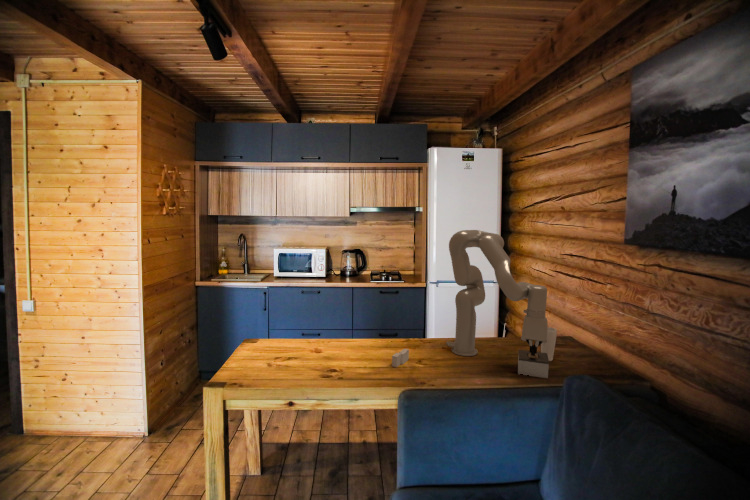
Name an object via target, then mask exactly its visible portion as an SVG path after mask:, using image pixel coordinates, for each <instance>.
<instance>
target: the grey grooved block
mask: <svg viewBox="0 0 750 500" xmlns="http://www.w3.org/2000/svg"><path fill="white" fill-rule="evenodd" d="M409 350H410V349H409V348H403V349H402V350H401V351H399V352H395V353H394V354H393V355H391V367H393V368H398V367H399V366H400V365H404V364H405V363H406V362H408V361H409V357H410V355H409V353H410V351H409Z"/></svg>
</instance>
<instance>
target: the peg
mask: <svg viewBox="0 0 750 500" xmlns="http://www.w3.org/2000/svg"><path fill="white" fill-rule="evenodd" d="M528 357H532V358H538V355H537V354H535V356H534V355H531V354H528Z"/></svg>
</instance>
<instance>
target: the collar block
mask: <svg viewBox="0 0 750 500" xmlns="http://www.w3.org/2000/svg"><path fill="white" fill-rule="evenodd" d="M528 354H531V353H530V352H529V350H524V349H518V357H517V359H518V360H517V375H520V374H523V375H522V376H527V375H529V377H536V378H542V379H549V368H550V365H549V364H550V361H549V360H548V355H547V353H541V351H537V353H535V354H537V355H538V358H532V357H528Z"/></svg>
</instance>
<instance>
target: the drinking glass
mask: <svg viewBox="0 0 750 500" xmlns="http://www.w3.org/2000/svg"><path fill="white" fill-rule="evenodd" d="M557 335H558V334H557V328H553V327H550V326H548V331H547V343H542V344H540V352H541V353H547V355H548V360H549V362H552V361H553V360H554V353H555V348H556V341H557Z"/></svg>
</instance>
